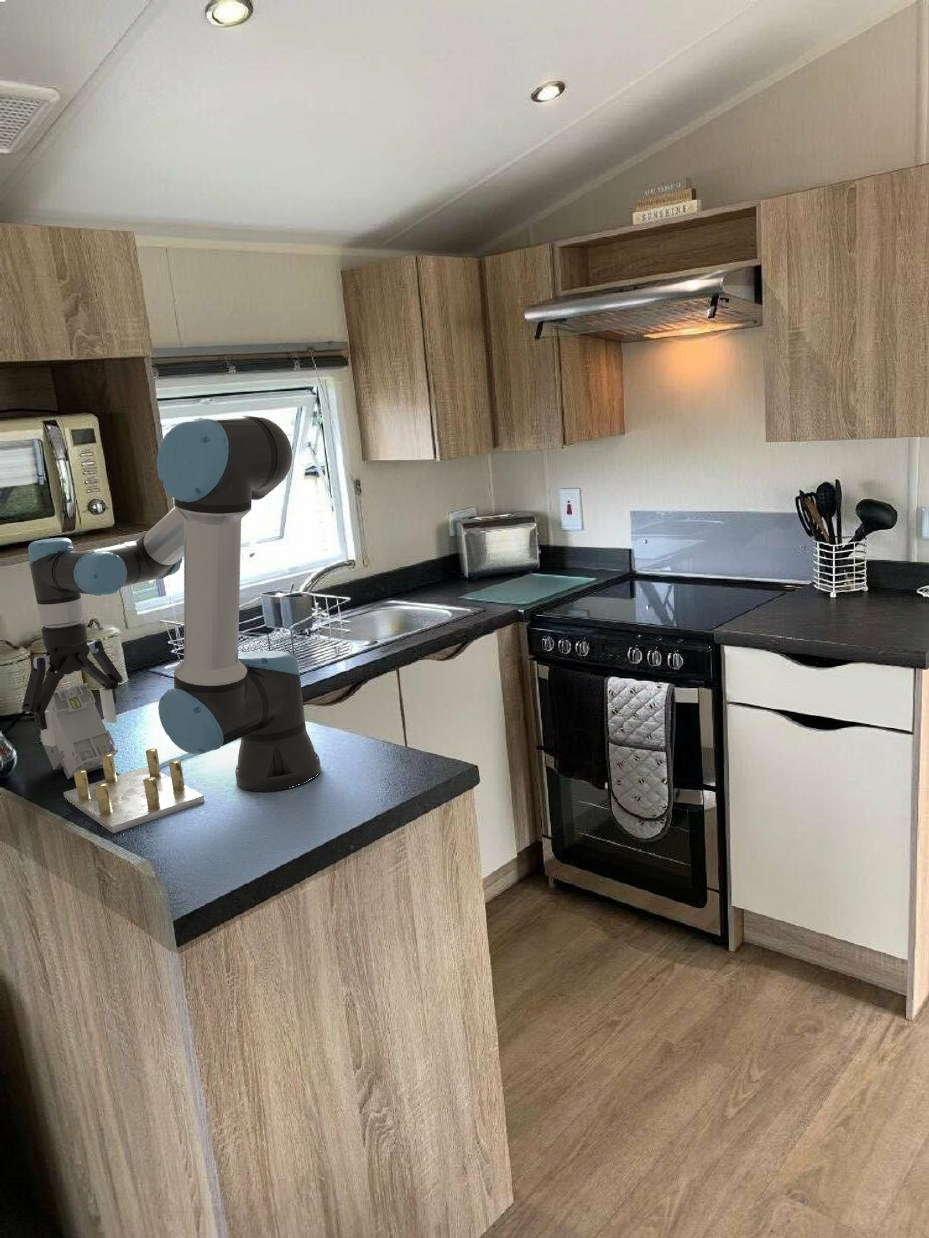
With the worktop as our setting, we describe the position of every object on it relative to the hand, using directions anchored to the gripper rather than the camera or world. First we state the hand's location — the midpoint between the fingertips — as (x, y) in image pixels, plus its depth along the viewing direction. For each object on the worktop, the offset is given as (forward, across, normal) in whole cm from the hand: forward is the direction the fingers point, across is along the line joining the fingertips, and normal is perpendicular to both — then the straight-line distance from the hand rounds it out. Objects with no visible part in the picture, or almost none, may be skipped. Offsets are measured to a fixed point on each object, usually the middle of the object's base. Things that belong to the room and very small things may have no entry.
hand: (81, 733), depth 181 cm
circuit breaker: (+8, -1, -1) cm, 9 cm away
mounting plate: (+8, +5, +18) cm, 21 cm away
